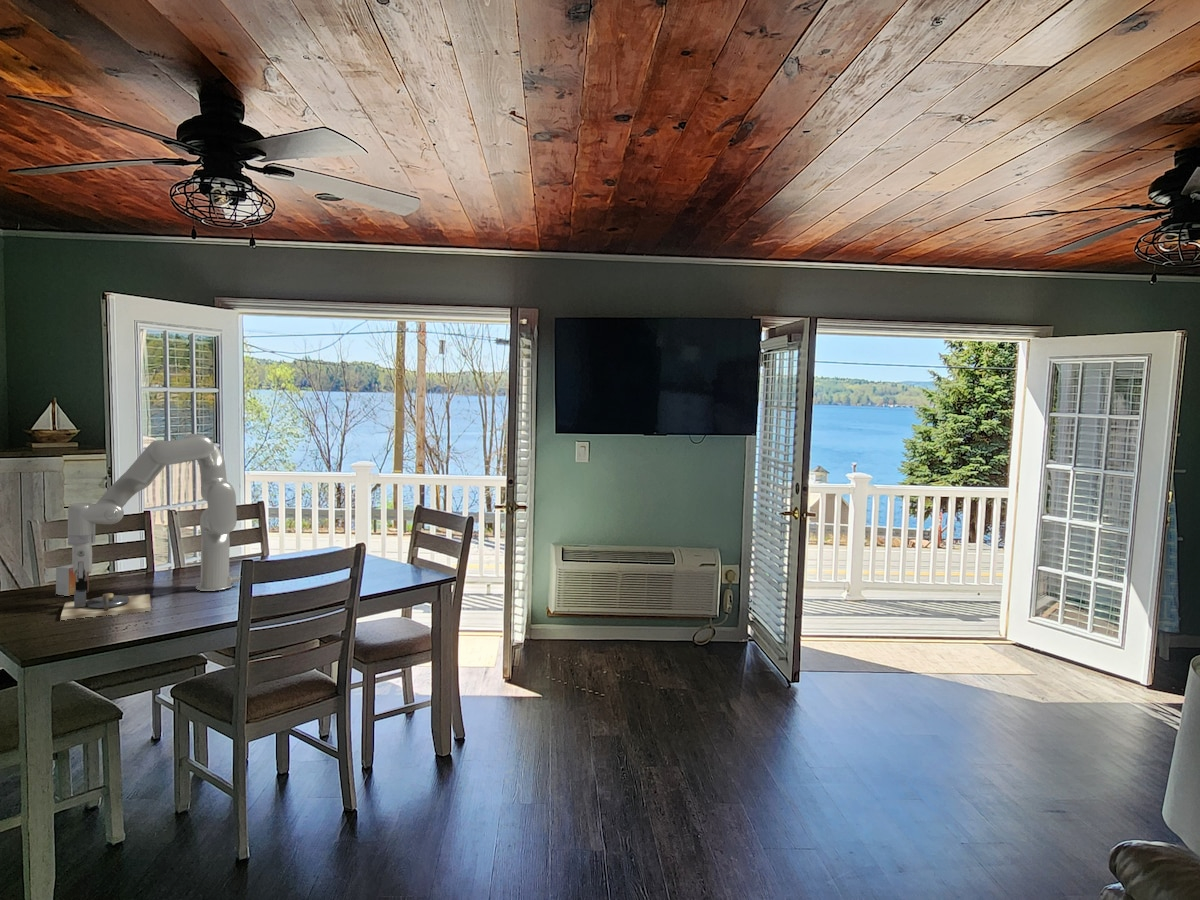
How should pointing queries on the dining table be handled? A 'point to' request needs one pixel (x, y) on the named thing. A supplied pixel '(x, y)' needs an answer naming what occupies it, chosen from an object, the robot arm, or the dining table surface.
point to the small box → (66, 580)
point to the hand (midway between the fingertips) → (81, 592)
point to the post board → (133, 606)
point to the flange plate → (97, 600)
